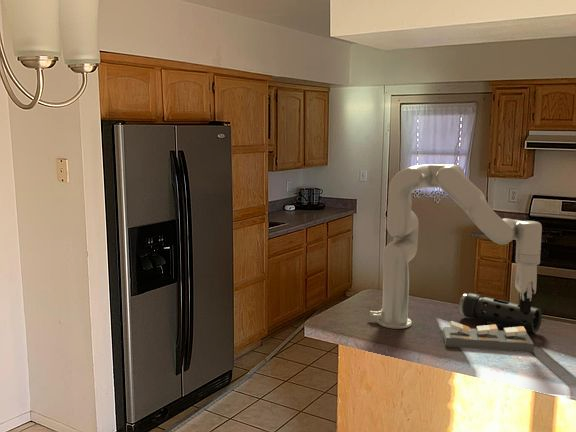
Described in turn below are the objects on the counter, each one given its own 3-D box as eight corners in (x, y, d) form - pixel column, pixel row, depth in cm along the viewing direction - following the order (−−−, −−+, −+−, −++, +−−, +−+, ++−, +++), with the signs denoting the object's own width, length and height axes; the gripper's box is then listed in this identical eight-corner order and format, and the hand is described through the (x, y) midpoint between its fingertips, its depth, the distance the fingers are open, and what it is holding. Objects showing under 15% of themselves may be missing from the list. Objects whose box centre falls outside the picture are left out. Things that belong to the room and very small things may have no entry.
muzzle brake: (530, 339, 201) (532, 311, 199) (457, 320, 220) (458, 294, 218) (540, 332, 208) (543, 304, 206) (468, 314, 227) (469, 289, 225)
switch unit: (445, 346, 194) (446, 335, 193) (442, 334, 205) (443, 324, 204) (533, 352, 189) (534, 341, 188) (525, 340, 200) (526, 330, 199)
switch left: (450, 328, 196) (452, 324, 195) (449, 323, 200) (451, 320, 200) (469, 335, 195) (470, 331, 195) (467, 330, 200) (468, 326, 199)
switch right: (506, 336, 193) (506, 332, 193) (504, 331, 197) (503, 327, 197) (526, 334, 192) (526, 330, 191) (523, 329, 196) (523, 325, 196)
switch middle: (478, 334, 194) (478, 330, 194) (476, 329, 199) (476, 325, 199) (498, 332, 193) (498, 328, 193) (496, 328, 198) (495, 323, 198)
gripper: (511, 253, 198) (508, 304, 201) (520, 263, 183) (518, 318, 186) (534, 253, 197) (531, 305, 199) (545, 263, 182) (542, 319, 185)
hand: (525, 311), depth 193 cm, fingers closed
